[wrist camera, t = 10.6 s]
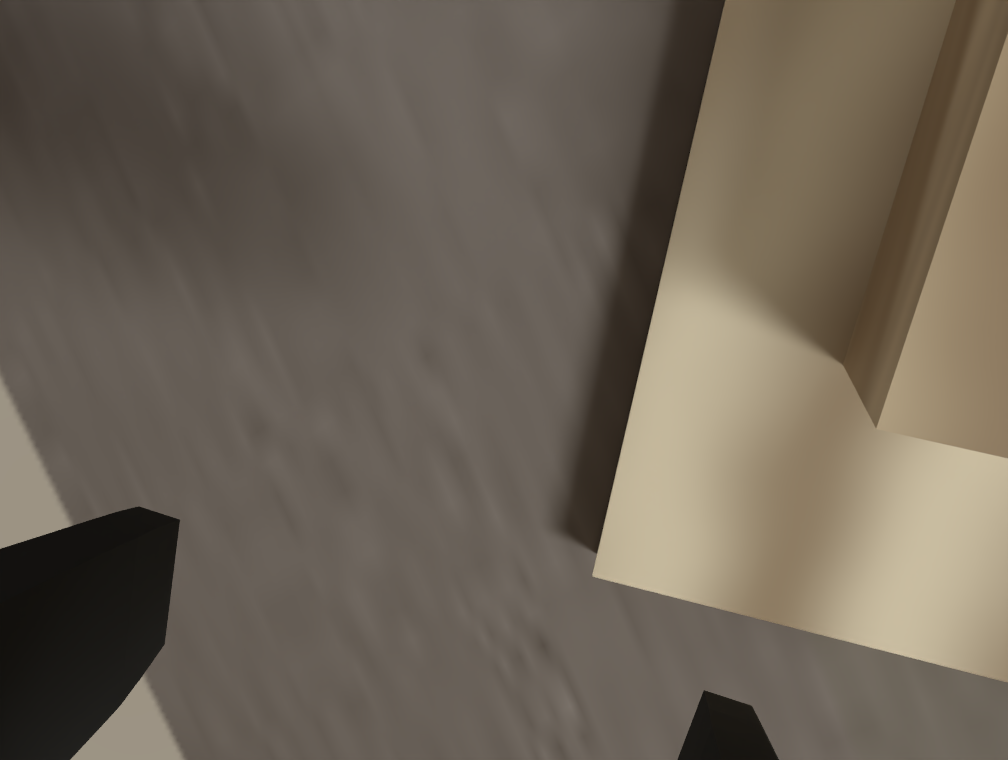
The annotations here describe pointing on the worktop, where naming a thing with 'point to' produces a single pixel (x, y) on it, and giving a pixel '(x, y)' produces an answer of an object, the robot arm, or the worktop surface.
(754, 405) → the tool board
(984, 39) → the turner
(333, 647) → the worktop surface
